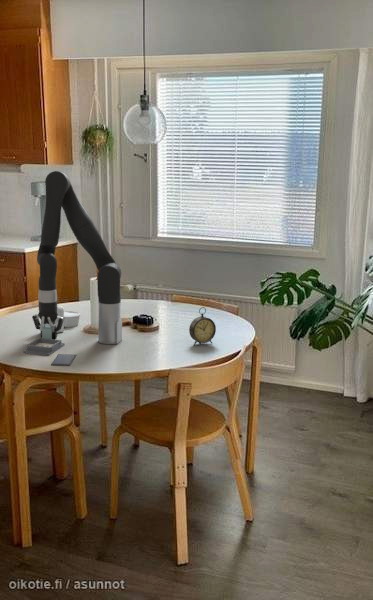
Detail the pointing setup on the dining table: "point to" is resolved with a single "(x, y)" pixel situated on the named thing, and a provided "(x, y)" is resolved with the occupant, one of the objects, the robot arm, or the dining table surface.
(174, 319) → the dining table surface
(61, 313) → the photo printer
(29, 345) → the grey shallow rectangular tray
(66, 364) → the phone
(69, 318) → the ramekin
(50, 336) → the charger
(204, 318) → the alarm clock
